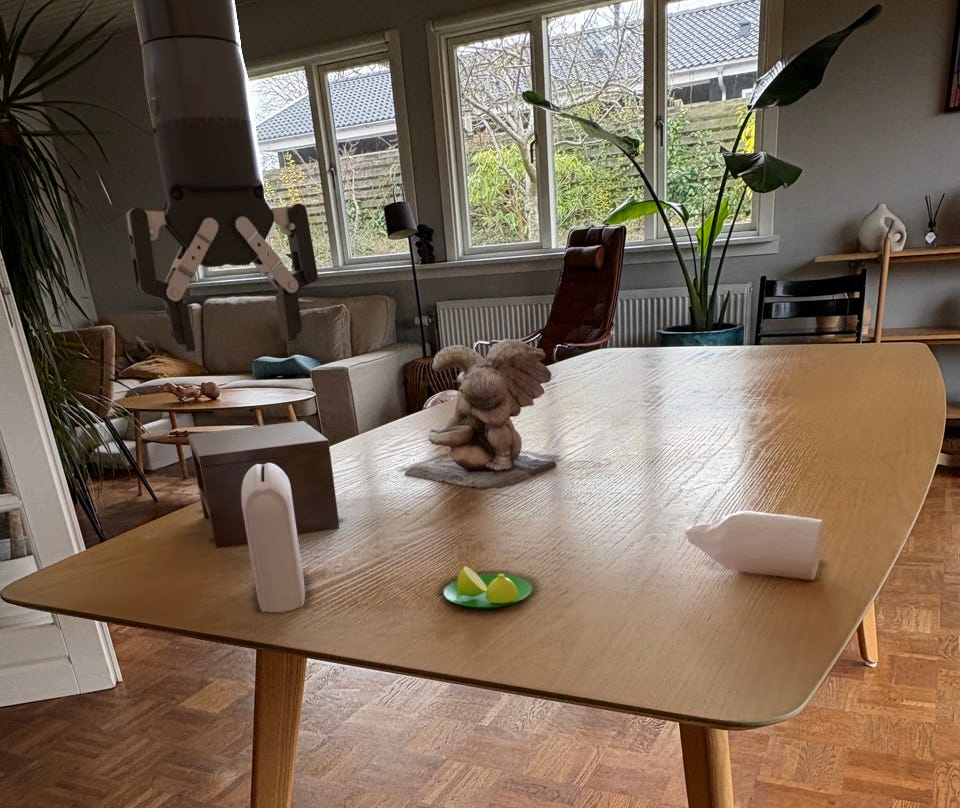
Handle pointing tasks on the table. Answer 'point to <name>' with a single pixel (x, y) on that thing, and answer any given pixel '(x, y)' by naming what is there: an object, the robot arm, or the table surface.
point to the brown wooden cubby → (284, 445)
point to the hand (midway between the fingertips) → (240, 345)
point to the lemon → (486, 590)
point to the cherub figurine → (488, 416)
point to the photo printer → (272, 538)
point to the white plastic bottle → (762, 543)
